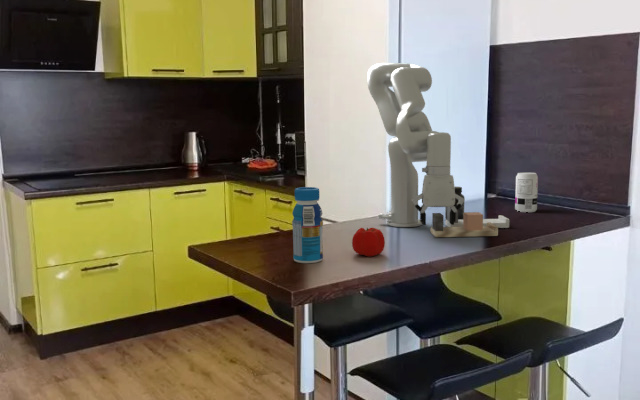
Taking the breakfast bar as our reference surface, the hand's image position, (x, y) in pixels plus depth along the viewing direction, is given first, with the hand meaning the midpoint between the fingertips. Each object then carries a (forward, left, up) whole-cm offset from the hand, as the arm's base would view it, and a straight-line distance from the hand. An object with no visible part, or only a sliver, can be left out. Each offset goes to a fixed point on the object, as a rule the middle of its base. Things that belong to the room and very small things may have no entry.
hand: (437, 224), depth 203 cm
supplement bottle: (+13, +28, -4) cm, 31 cm away
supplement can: (+45, +43, -4) cm, 62 cm away
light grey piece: (+17, +13, -4) cm, 21 cm away
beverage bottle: (-42, -30, -4) cm, 52 cm away
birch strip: (+9, 0, -4) cm, 9 cm away
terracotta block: (+12, 0, -2) cm, 12 cm away
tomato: (-25, -25, -4) cm, 36 cm away
